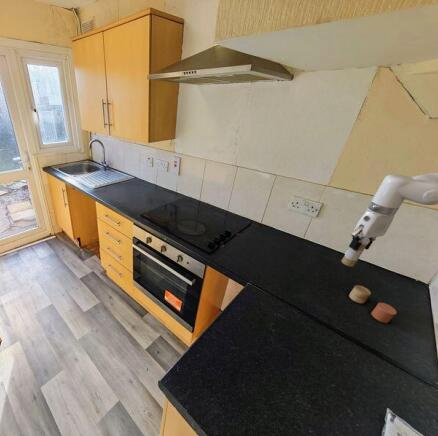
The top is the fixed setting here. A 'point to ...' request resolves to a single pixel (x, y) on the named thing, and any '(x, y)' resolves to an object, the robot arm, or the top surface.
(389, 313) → the orange-brown short cylinder
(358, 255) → the sprinkles bottle
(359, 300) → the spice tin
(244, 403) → the top surface
